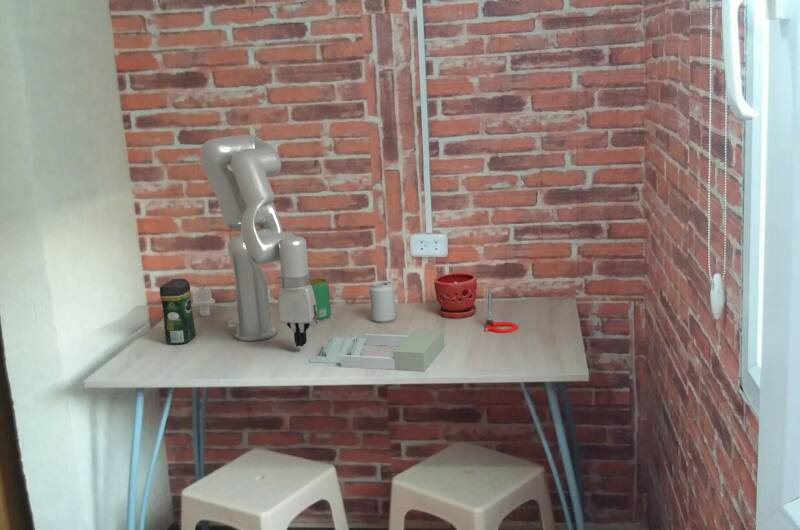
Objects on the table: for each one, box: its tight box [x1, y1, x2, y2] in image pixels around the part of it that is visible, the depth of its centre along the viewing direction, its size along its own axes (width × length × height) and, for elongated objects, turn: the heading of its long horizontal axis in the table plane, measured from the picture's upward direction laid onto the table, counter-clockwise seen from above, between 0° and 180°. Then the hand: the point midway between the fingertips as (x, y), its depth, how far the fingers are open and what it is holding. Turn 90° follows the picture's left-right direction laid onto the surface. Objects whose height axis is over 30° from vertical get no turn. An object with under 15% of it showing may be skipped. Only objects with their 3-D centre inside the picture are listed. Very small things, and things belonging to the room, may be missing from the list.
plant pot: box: [433, 272, 478, 319], centre depth 282 cm, size 13×13×12 cm
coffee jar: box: [159, 278, 197, 346], centre depth 270 cm, size 10×8×19 cm
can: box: [369, 280, 397, 324], centre depth 280 cm, size 8×8×12 cm
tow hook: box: [484, 285, 519, 334], centre depth 264 cm, size 8×13×9 cm
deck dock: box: [340, 328, 445, 372], centre depth 246 cm, size 23×20×5 cm
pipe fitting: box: [192, 288, 216, 317], centre depth 299 cm, size 6×7×8 cm
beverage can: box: [309, 278, 332, 321], centre depth 287 cm, size 8×8×12 cm
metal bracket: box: [308, 333, 366, 365], centre depth 249 cm, size 14×6×15 cm
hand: (301, 344), depth 254 cm, fingers closed
